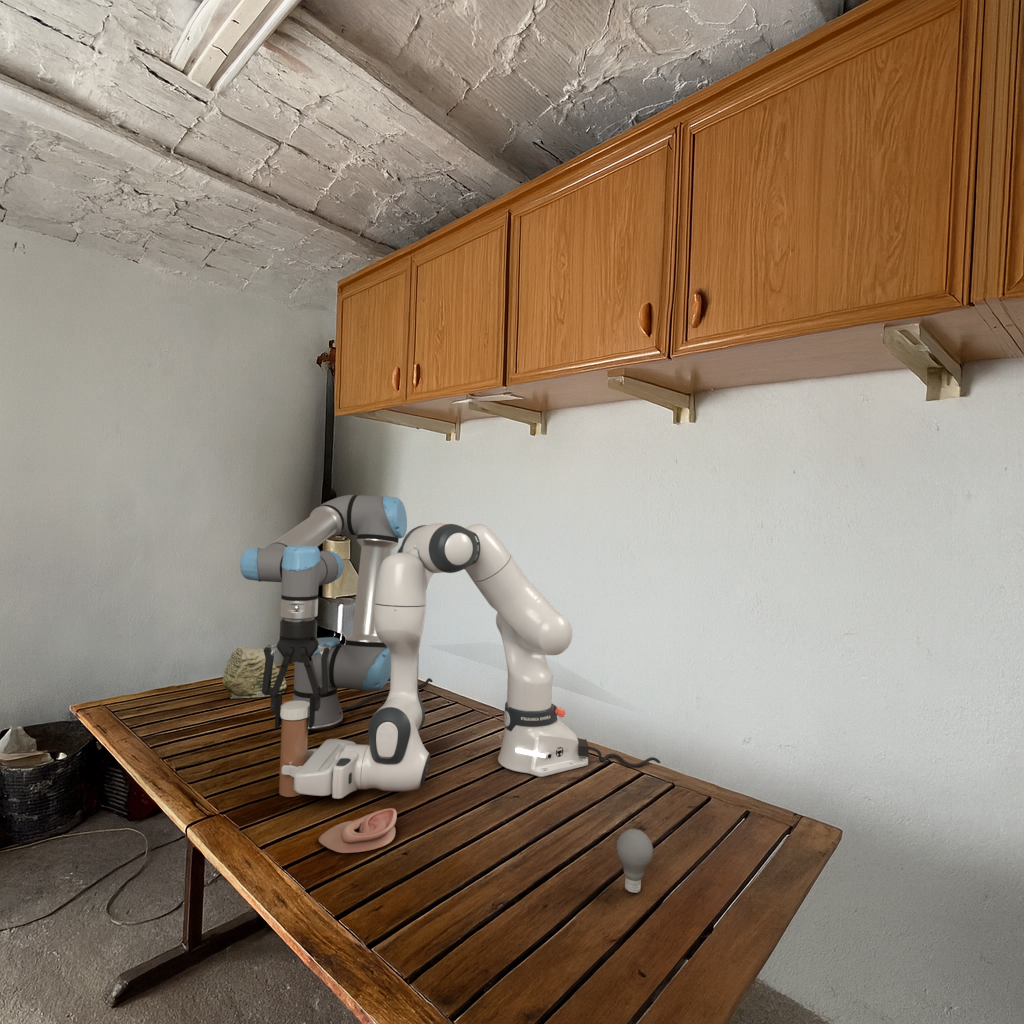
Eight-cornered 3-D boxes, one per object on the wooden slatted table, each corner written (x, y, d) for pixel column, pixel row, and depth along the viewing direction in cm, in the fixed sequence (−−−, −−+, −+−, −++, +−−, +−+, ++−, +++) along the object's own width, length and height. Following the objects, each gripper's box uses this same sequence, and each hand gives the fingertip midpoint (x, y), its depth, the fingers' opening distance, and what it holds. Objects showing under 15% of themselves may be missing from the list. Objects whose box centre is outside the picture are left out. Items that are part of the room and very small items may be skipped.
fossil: (218, 695, 195) (220, 647, 195) (278, 685, 208) (279, 640, 207) (228, 703, 189) (230, 653, 188) (289, 692, 201) (290, 645, 201)
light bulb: (610, 879, 108) (613, 822, 108) (644, 879, 109) (647, 822, 109) (619, 902, 102) (622, 840, 102) (655, 901, 103) (658, 840, 103)
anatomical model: (310, 826, 114) (340, 797, 125) (309, 848, 114) (339, 817, 125) (379, 837, 111) (403, 806, 122) (378, 859, 111) (403, 827, 123)
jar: (301, 783, 140) (304, 702, 139) (309, 793, 135) (312, 709, 135) (275, 788, 136) (278, 706, 136) (282, 799, 132) (286, 713, 132)
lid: (276, 713, 136) (276, 703, 136) (304, 708, 140) (304, 698, 140) (285, 722, 131) (285, 711, 131) (314, 717, 135) (315, 706, 135)
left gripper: (247, 621, 130) (243, 732, 130) (343, 622, 133) (338, 731, 133) (256, 614, 137) (252, 719, 138) (347, 615, 140) (343, 719, 141)
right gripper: (366, 733, 145) (307, 730, 146) (338, 771, 125) (269, 767, 126) (365, 760, 146) (306, 757, 146) (337, 803, 125) (268, 798, 126)
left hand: (294, 725), depth 136 cm, fingers open, 6 cm apart
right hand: (289, 762), depth 136 cm, fingers closed on jar, 5 cm apart
